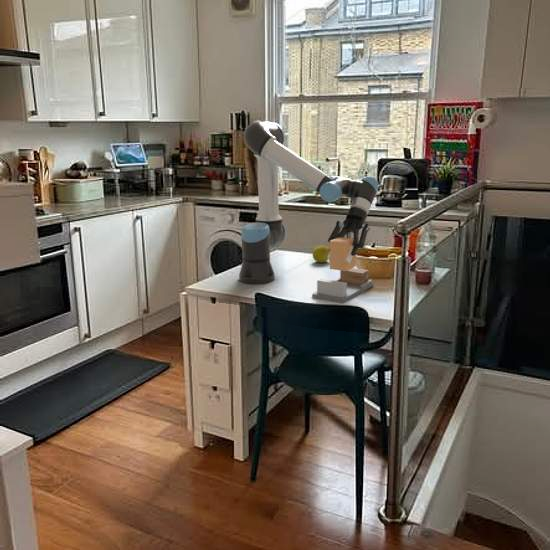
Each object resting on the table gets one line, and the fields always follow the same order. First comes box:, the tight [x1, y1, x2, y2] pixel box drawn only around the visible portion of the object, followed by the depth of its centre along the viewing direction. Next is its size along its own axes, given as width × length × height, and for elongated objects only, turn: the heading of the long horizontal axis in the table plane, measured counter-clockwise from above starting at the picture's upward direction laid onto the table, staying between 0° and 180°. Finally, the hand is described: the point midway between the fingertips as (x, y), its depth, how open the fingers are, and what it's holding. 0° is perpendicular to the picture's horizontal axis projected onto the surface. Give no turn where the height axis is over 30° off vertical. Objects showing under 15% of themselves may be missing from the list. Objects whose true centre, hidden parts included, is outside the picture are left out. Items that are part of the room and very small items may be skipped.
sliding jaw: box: [339, 267, 369, 285], centre depth 222 cm, size 5×10×5 cm, turn 55°
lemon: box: [312, 245, 330, 264], centre depth 260 cm, size 11×8×8 cm
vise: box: [311, 277, 374, 304], centre depth 215 cm, size 26×13×6 cm, turn 145°
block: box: [329, 236, 357, 271], centre depth 210 cm, size 8×7×11 cm
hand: (338, 260), depth 208 cm, fingers closed on block, 7 cm apart
